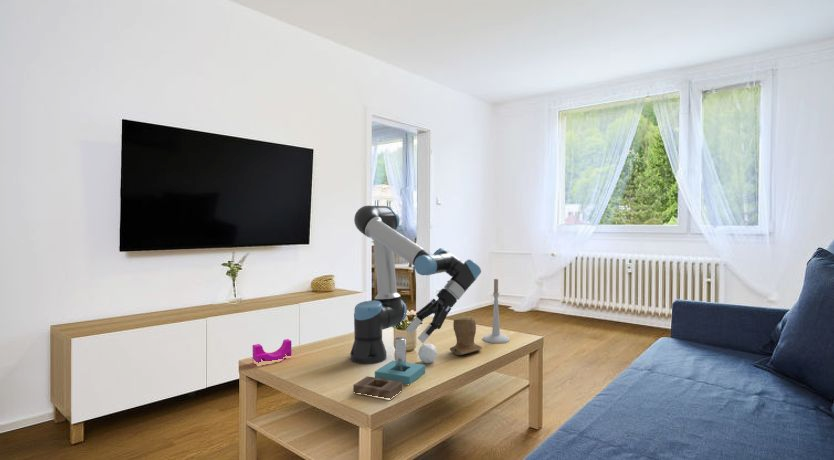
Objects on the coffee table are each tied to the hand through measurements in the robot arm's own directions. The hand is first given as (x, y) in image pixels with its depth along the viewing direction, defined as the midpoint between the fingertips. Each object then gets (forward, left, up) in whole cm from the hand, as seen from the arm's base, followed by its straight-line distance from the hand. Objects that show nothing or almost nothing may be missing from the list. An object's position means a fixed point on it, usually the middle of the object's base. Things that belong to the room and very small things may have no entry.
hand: (413, 336), depth 169 cm
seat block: (-4, -4, -14) cm, 15 cm away
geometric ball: (-1, +15, -15) cm, 21 cm away
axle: (-4, -4, -14) cm, 15 cm away
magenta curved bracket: (-60, -9, -15) cm, 62 cm away
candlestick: (+16, +60, -15) cm, 64 cm away
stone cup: (+8, +35, -15) cm, 39 cm away
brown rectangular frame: (-4, -21, -14) cm, 26 cm away
